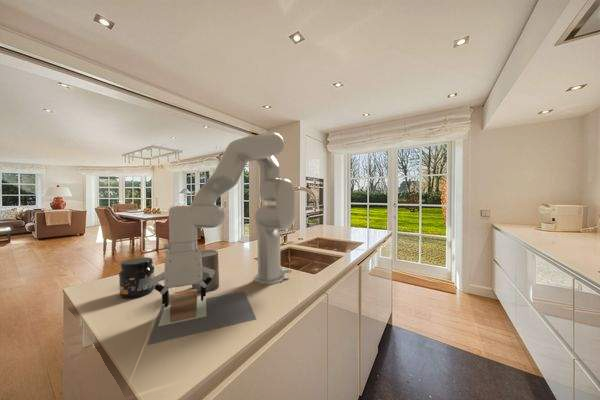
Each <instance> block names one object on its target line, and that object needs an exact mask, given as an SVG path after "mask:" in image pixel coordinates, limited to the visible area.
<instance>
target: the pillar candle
mask: <svg viewBox="0 0 600 400" xmlns="http://www.w3.org/2000/svg"><path fill="white" fill-rule="evenodd" d="M200 252H201V257H202V266H203V267H206V268H209V269H212V270H214V271H215V274H214V276H213V278H212V280H211V281H210V282H209V283H208V285H207V286H206V293H209V292H213V291H215V290H217V289H218V288H219V286H220V272H219V271H220V270H219V269H220V268H219V266H220V265H219V251H218V250H216V249H215V250H213V249H204V250H200ZM208 276H209V274H208V273H205V272H203V279H204V280H205V279H206V278H207V277H208ZM193 289H197V294H198V293H199V294H201V285H200V284H199V283H198V284H193V285H191V290H193Z"/></svg>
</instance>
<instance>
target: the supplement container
mask: <svg viewBox="0 0 600 400" xmlns="http://www.w3.org/2000/svg"><path fill="white" fill-rule="evenodd" d="M153 263H154V262H153V258H152V257H147V256H146V257H136V258H135V257H134V258H131V259H126V260H124V261H122V262H120V265H119V266H120V271H119V272H118V278H119V279H118V280H119V296H120V297H121V298H122V299H136V298H140V297H144V296H146V295H148V294H150V293H151V292H152V291H154V290H155V288H154V286H153V285H152V284H151V282H150V281H151V279H152V278H154V277H155V266H154V265H153Z"/></svg>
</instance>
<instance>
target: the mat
mask: <svg viewBox="0 0 600 400" xmlns="http://www.w3.org/2000/svg"><path fill="white" fill-rule="evenodd" d="M170 306H171V304H168V307H166V308H165V305H162V306H161V307H160V310H159V313H158V315H157V317H156V321H155V324H154V326H153V328H152V331H151V334H150V337H149V339H148V341H147V344H146V345H147V346H149V345H150V346H151V345H153V344H157V343H161V342H166V341H171V340H174V339H178V338H179V339H180V338H183V337H187V336H191V335H195V334H200V333H205V332H209V331H214V330H218V329H221V328H225V327H230V326H233V325H238V324H239V325H240V324H242V323H246V322H250V321H255V320H257V318H256V315H255V312H254V310H253V308H252V306H251V304H250V302H249V299H248V297H247V295H246V292H245V291H239V292H235V293H229V294H228V293H227V294H224V295H223V294H222V295H217V296H213V297H212V296H211V297H207V298H203V301H202V300H201V298H200V299H197V312H196V317H194V318H190V319H185V320H180V321H175V322H170Z"/></svg>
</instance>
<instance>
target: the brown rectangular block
mask: <svg viewBox="0 0 600 400" xmlns="http://www.w3.org/2000/svg"><path fill="white" fill-rule="evenodd" d="M197 300H198V293H197V289H193V290H192V289H188V290H182V291H175V292H174V293H173V297H172V300H171V304H170V305H171V306H170V322H175V321H180V320H185V319H190V318H194V317H196V312H197Z"/></svg>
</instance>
